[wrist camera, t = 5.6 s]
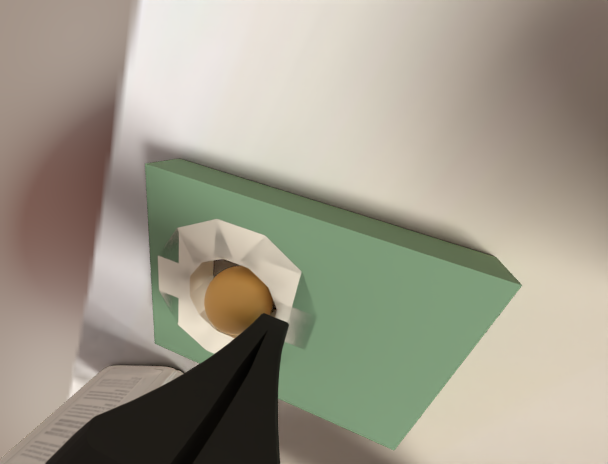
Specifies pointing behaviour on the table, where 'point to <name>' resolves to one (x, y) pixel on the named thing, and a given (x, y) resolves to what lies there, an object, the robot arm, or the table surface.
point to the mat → (322, 294)
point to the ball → (236, 300)
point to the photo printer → (88, 409)
